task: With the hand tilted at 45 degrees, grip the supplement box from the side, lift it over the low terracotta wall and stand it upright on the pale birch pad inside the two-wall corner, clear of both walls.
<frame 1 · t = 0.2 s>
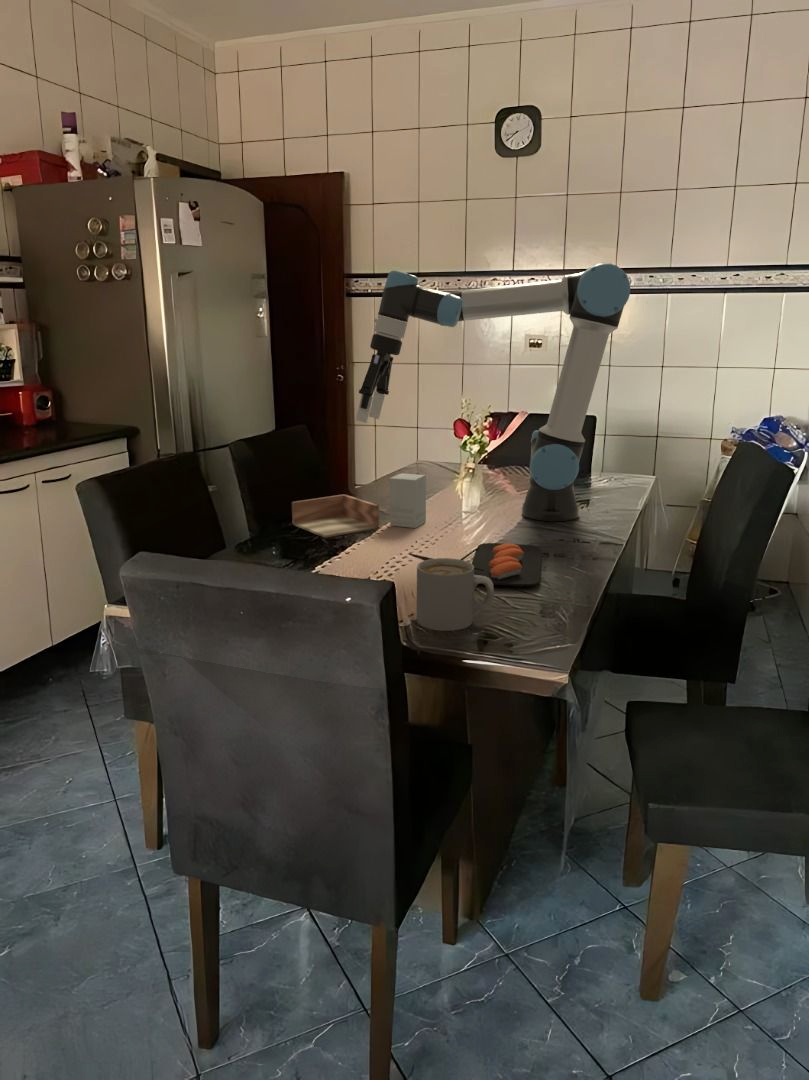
hand: (367, 419, 204), 27 cm above the table, fingers open, 13 cm apart
supplement box: (407, 524, 208), on the table
coffee mug: (454, 622, 141), on the table
sushi plate: (470, 569, 173), on the table
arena: (335, 526, 205), on the table
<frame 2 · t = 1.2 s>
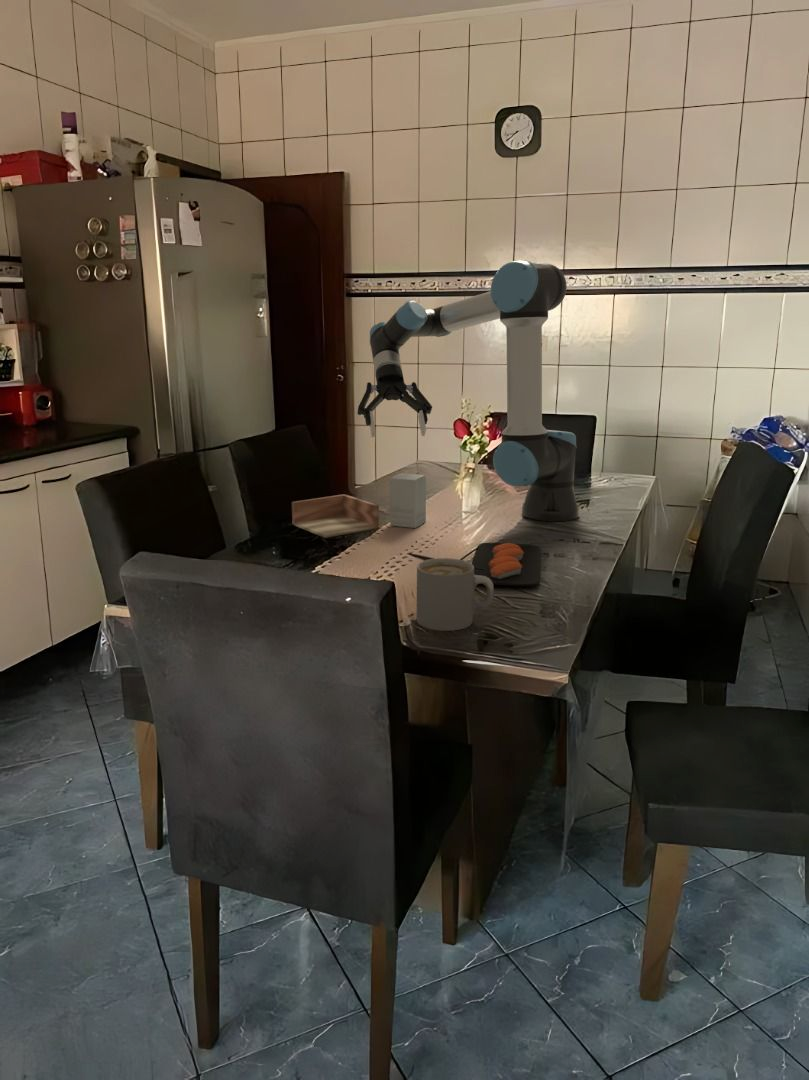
hand: (398, 433, 212), 22 cm above the table, fingers open, 13 cm apart
nothing on the table moved.
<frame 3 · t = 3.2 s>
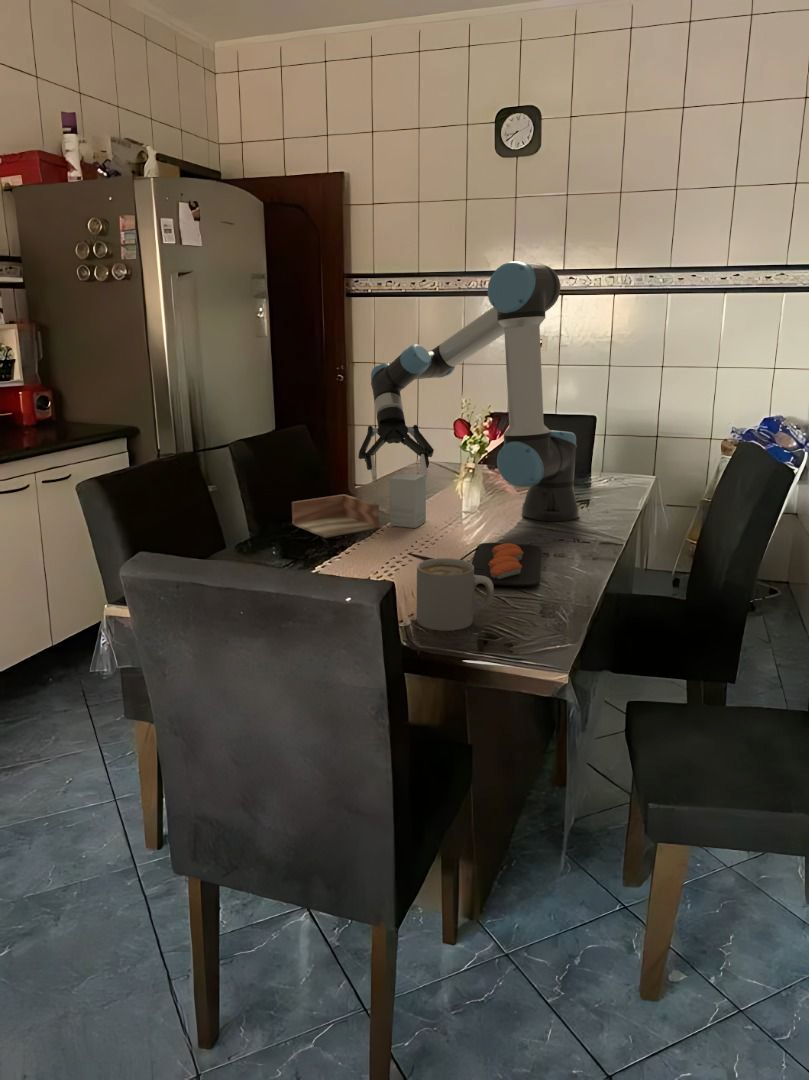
hand: (400, 478, 211), 11 cm above the table, fingers open, 13 cm apart
nothing on the table moved.
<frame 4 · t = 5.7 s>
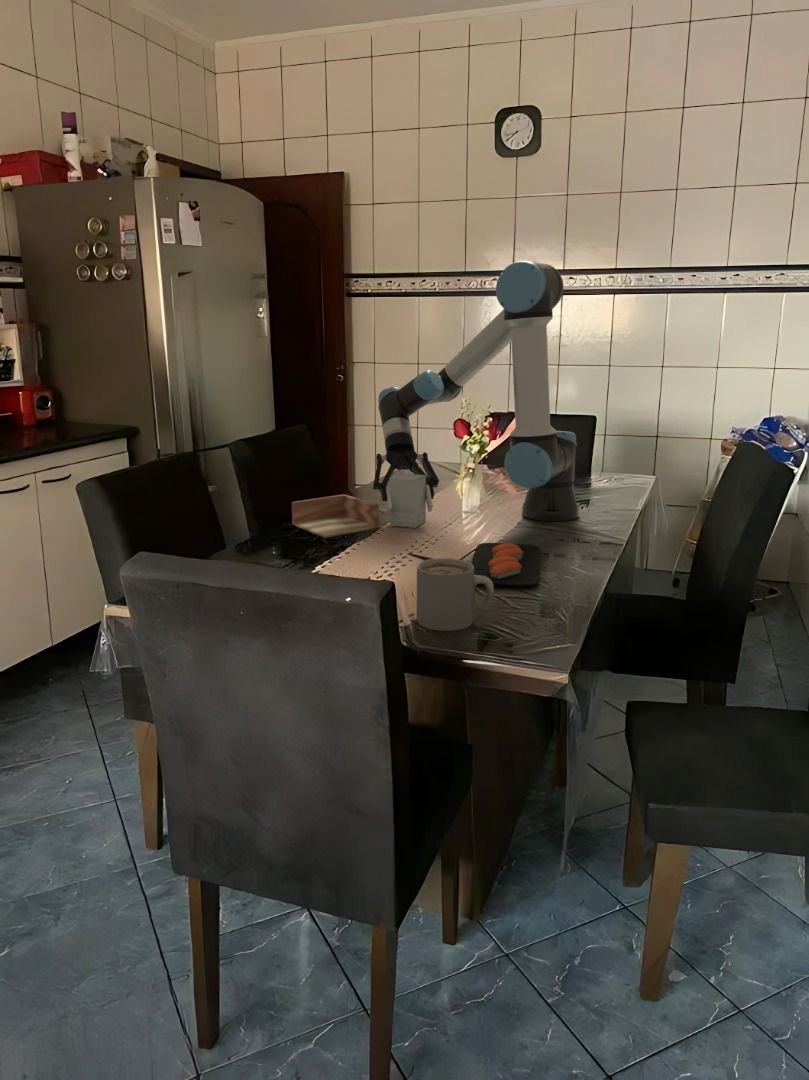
hand: (410, 509, 204), 4 cm above the table, fingers closed on supplement box, 10 cm apart
supplement box: (407, 524, 208), on the table, touching gripper
everything else where it was.
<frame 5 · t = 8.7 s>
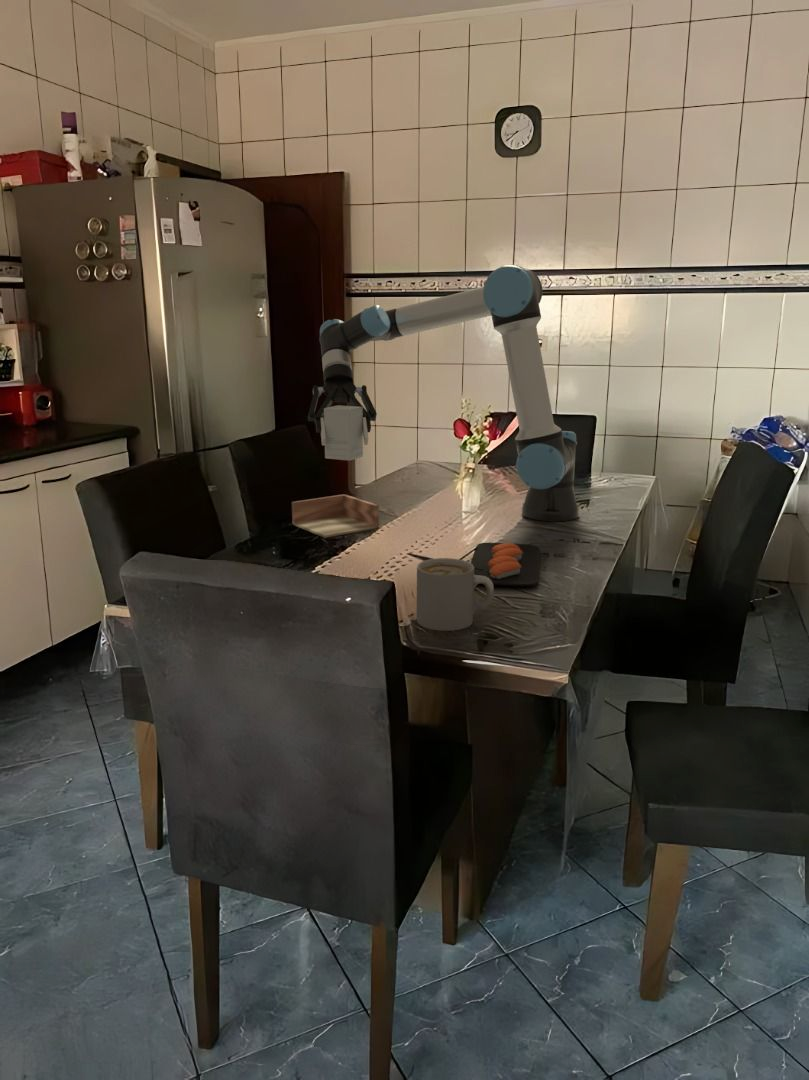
hand: (345, 441, 197), 22 cm above the table, fingers closed on supplement box, 10 cm apart
supplement box: (343, 458, 201), point 17 cm above the table, touching gripper
everything else where it was.
when the fingers open (6 cm above the table, at t = 11.7 s): supplement box drops 1 cm, resting on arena.
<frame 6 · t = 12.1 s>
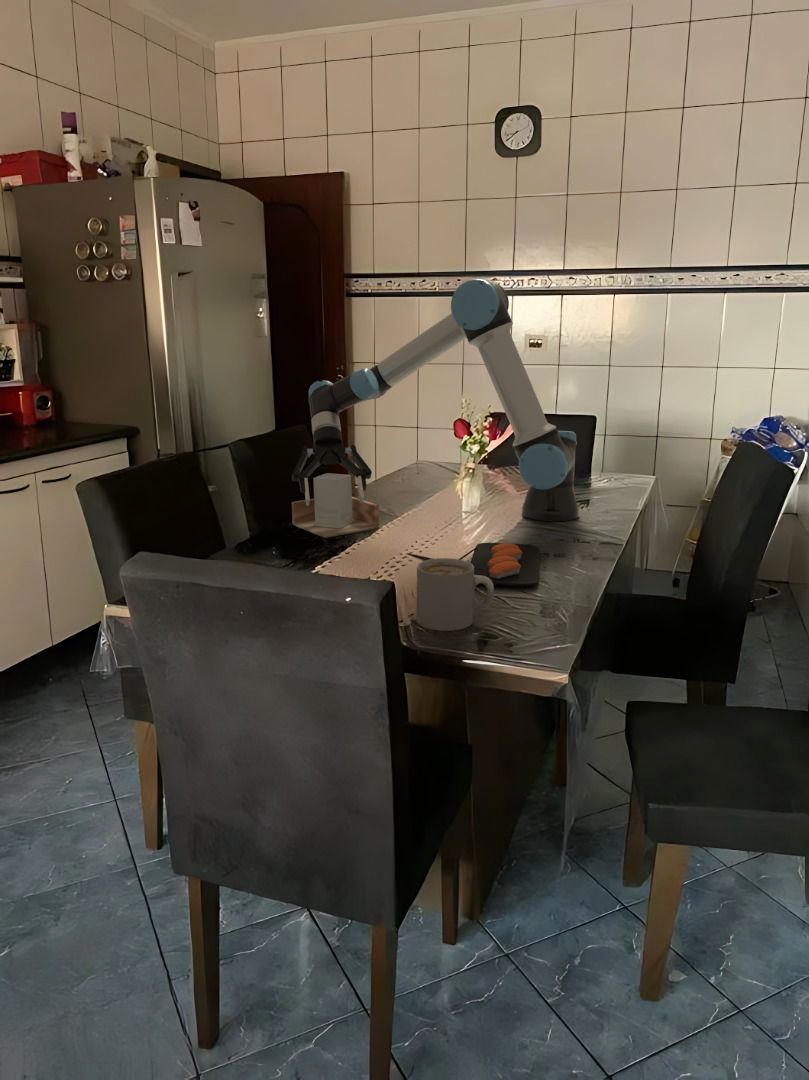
hand: (335, 501, 200), 7 cm above the table, fingers open, 13 cm apart
supplement box: (333, 525, 205), resting on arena
everything else where it was.
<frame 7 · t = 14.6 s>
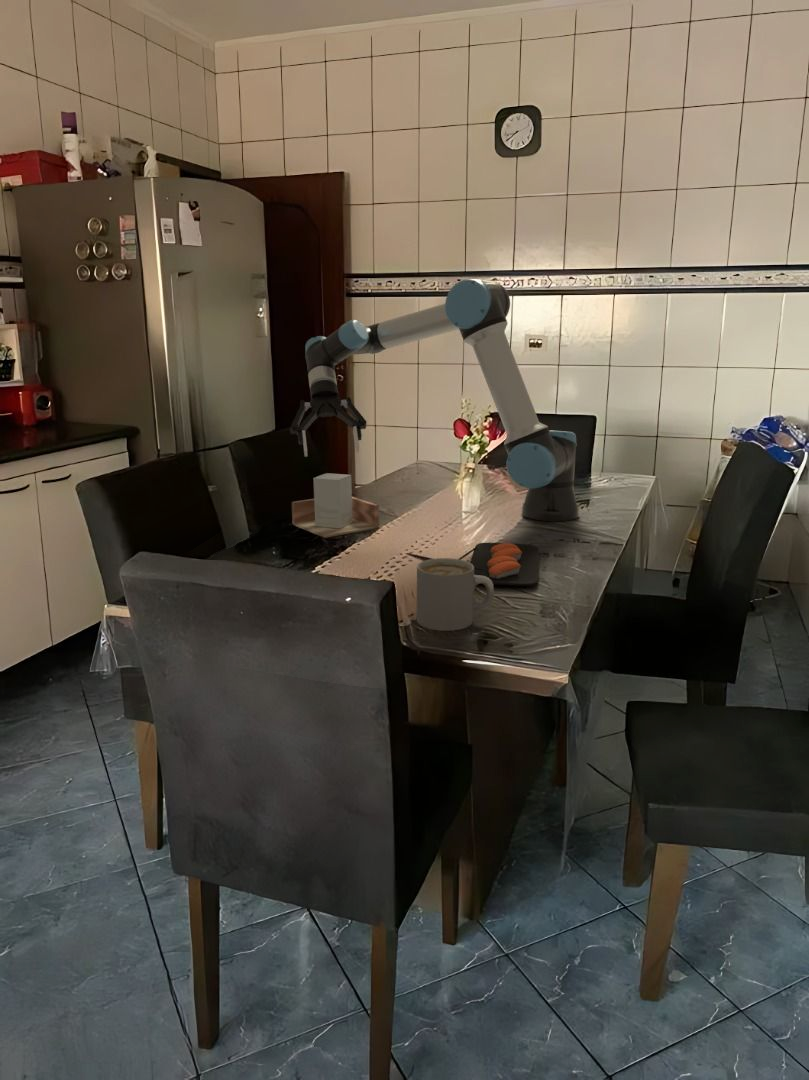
hand: (331, 451, 210), 18 cm above the table, fingers open, 13 cm apart
nothing on the table moved.
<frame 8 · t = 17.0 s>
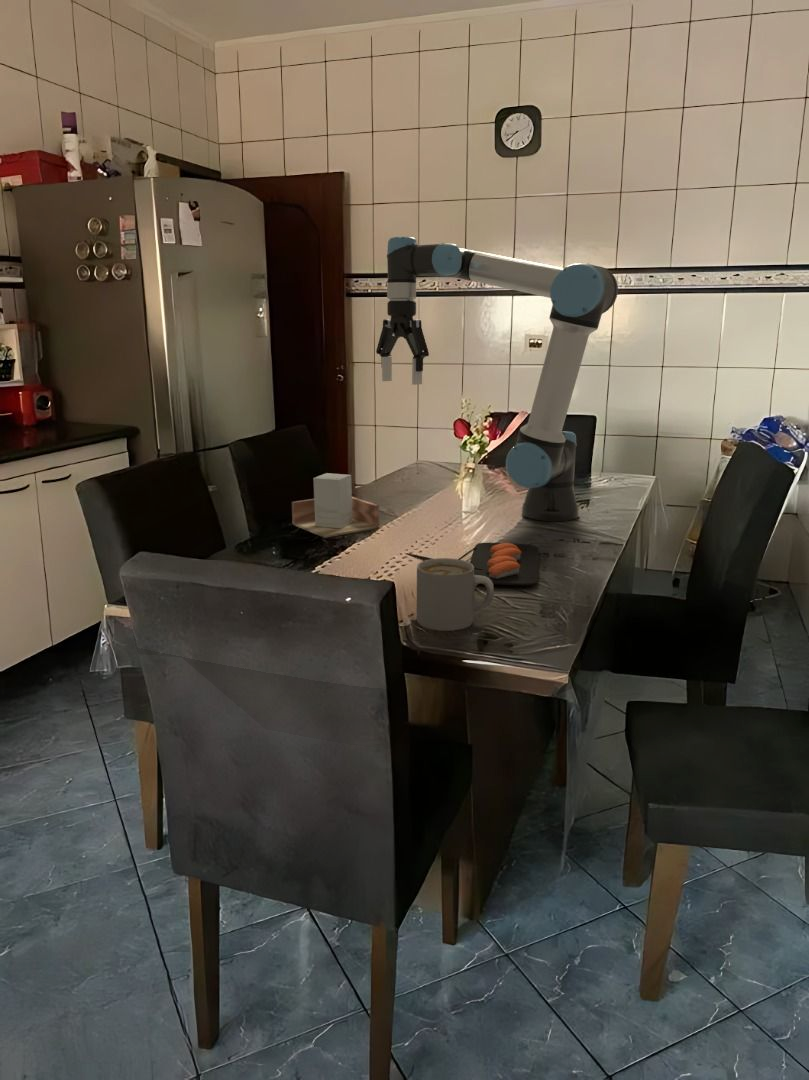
hand: (401, 382, 215), 35 cm above the table, fingers open, 13 cm apart
nothing on the table moved.
at the end: supplement box inside the target area on the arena (0.9 cm from its centre), point 0.4 cm above the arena's base; supplement box tilted 0°; the gripper is holding nothing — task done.
